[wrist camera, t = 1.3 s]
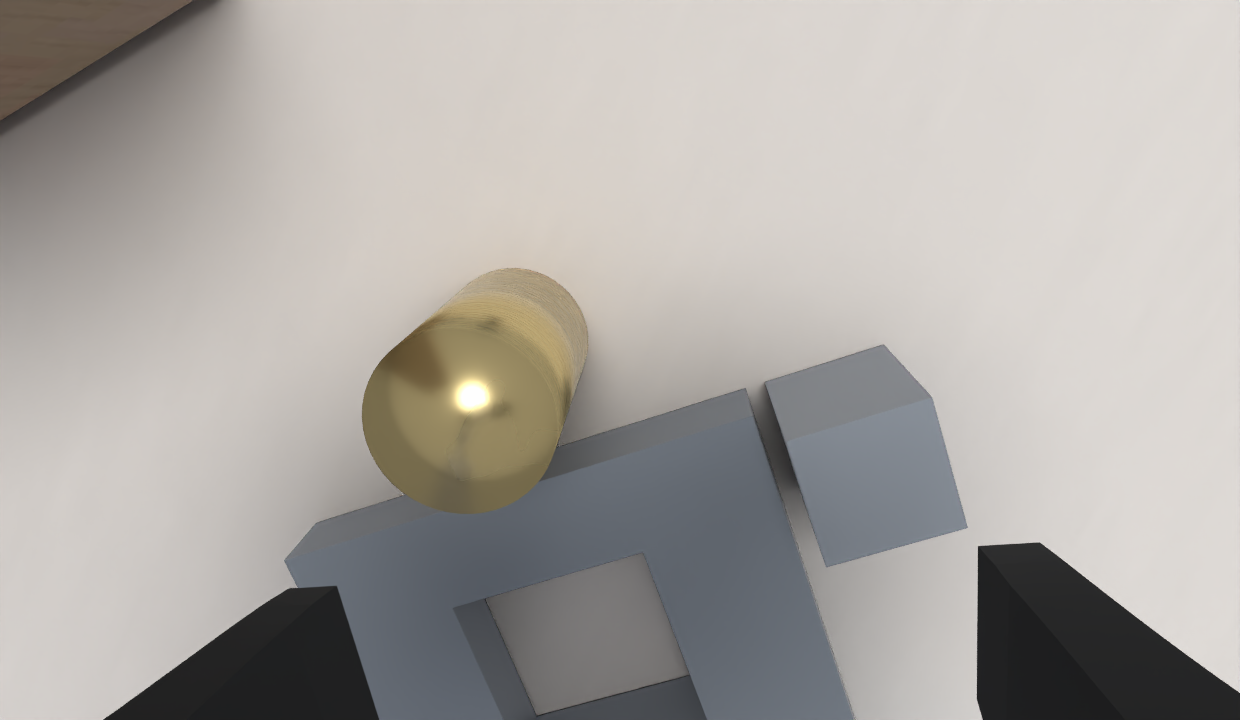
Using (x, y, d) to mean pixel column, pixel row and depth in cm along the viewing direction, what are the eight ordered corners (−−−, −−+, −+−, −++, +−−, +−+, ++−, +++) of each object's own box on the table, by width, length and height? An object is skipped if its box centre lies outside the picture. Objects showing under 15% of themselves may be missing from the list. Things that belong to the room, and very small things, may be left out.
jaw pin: (476, 425, 22) (409, 536, 16) (422, 295, 21) (329, 364, 15) (608, 383, 22) (585, 482, 16) (557, 247, 21) (514, 301, 15)
